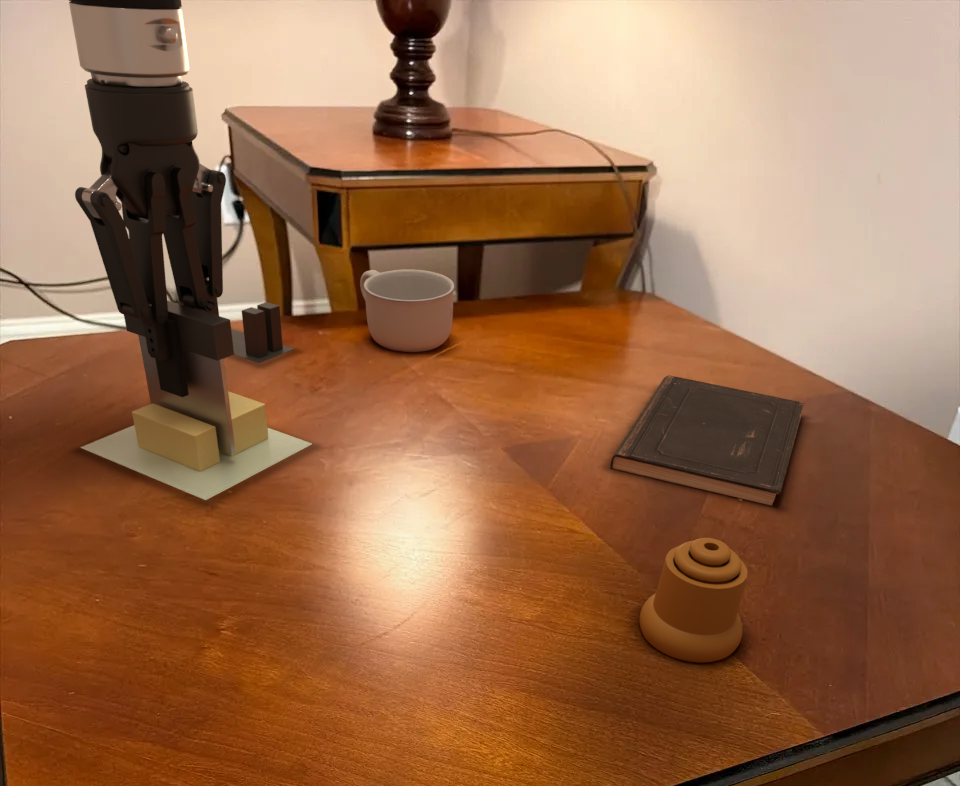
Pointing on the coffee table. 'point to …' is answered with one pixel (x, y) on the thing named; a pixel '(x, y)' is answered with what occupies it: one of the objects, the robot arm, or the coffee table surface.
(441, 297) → the teacup
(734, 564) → the ornamental finial
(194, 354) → the dough scraper
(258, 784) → the coffee table surface
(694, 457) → the hardcover book
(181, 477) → the butter dish
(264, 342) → the stand
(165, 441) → the butter pat
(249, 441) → the butter block
